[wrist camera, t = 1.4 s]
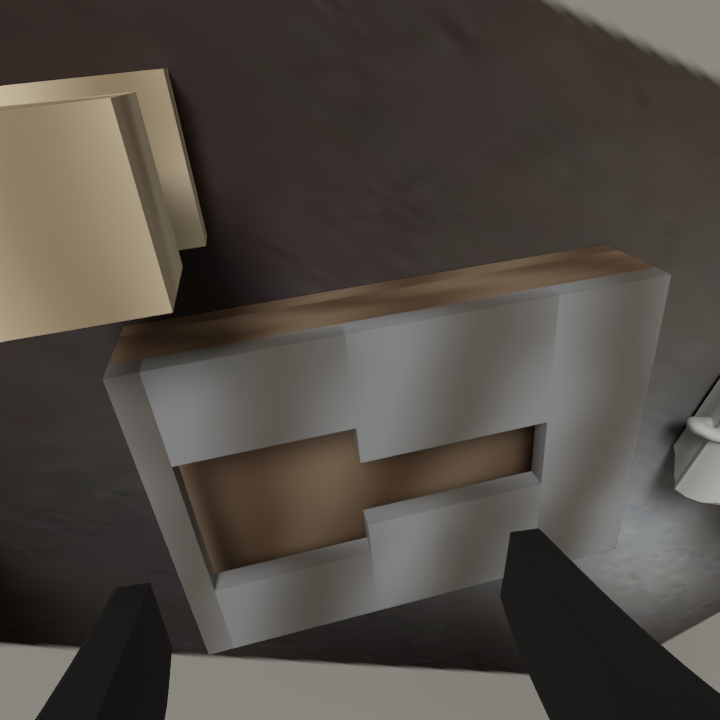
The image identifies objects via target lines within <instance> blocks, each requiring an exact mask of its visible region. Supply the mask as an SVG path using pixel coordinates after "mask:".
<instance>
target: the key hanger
mask: <svg viewBox="0 0 720 720" xmlns="http://www.w3.org/2000/svg"><path fill="white" fill-rule="evenodd" d="M206 241H207V233H206V229H205V225H204V221H203V216H202V212H201V208H200V204H199V200H198V195H197V191H196V187H195V183H194V179H193V174H192V170H191V166H190V162H189V158H188V153H187V149H186V145H185V141H184V137H183V132H182V128H181V124H180V120H179V115H178V111H177V107H176V103H175V99H174V94H173V90H172V86H171V82H170V78H169V73H168V69H156V70H146V71H137V72H127V73H118V74H109V75H99V76H90V77H80V78H71V79H61V80H52V81H43V82H33V83H24V84H14V85H5V86H0V342H3V341H9V340H15V339H21V338H27V337H33V336H38V335H44V334H50V333H56V332H62V331H68V330H74V329H80V328H86V327H92V326H97V325H103V324H109V323H115V322H121V321H127V320H133V319H139V318H145V317H151V316H156V315H162V314H168V313H173V309H174V305H175V300H176V295H177V291H178V286H179V281H180V277H181V272H182V268H183V266H182V262H181V259H180V255H179V251H178V250H184V249H190V248H197V247H203V246H206Z"/></svg>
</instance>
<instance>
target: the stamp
mask: <svg viewBox="0 0 720 720" xmlns="http://www.w3.org/2000/svg"><path fill="white" fill-rule="evenodd" d="M686 426H687V427H686V429H685V430H684V432H683V433H682V435H681V436H680V437H679V439H678V440H677V442H676V443H675V445H674V446H673V447H674V451H675V466H674V479H675V490H677V491H678V492H680V493H681V494H683V495H684V496H685V497H688V498H690V499H693V500H696V501H698V502H702V503H709V504H715V505H720V379H719V380H718V382H717V383H716V385H715V386H714V388H713V389H712V391H711V392H710V394H709V395H708V396H707V398H706V399H705V401H704V402H703V404H702V405H701V407H700V408H699V410H698V411H697V413H696V414H695V415H694V416H693V417H688V418H687V420H686Z"/></svg>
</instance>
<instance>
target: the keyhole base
mask: <svg viewBox="0 0 720 720" xmlns="http://www.w3.org/2000/svg"><path fill="white" fill-rule="evenodd" d="M670 278H671V275H670V274H668V273H666V272H664V271H662V270H660V269H657V268H655V267H653V266H651V265H649V264H647V263H644V262H642V261H640V260H638V259H636V258H634V257H631V256H629V255H627V254H625V253H623V252H621V251H618V250H616V249H614V248H612V247H610V246H608V245H605V244H604V245H598V246H592V247H586V248H580V249H574V250H568V251H563V252H557V253H551V254H545V255H539V256H533V257H527V258H522V259H516V260H510V261H504V262H498V263H492V264H487V265H481V266H475V267H469V268H463V269H457V270H451V271H446V272H440V273H434V274H428V275H422V276H416V277H410V278H405V279H399V280H393V281H387V282H381V283H375V284H369V285H364V286H358V287H352V288H346V289H340V290H334V291H328V292H323V293H317V294H311V295H305V296H299V297H293V298H287V299H282V300H276V301H270V302H264V303H258V304H252V305H246V306H241V307H235V308H229V309H223V310H217V311H211V312H205V313H200V314H194V315H188V316H182V317H176V318H170V319H164V320H159V321H153V322H147V323H141V324H135V325H129V326H123V329H122V331H121V334H120V336H119V339H118V341H117V344H116V346H115V349H114V351H113V354H112V356H111V359H110V362H109V364H108V367H107V369H106V372H105V374H104V377H103V382H104V384H105V387H106V389H107V392H108V394H109V397H110V400H111V402H112V405H113V407H114V410H115V413H116V415H117V418H118V420H119V423H120V425H121V428H122V431H123V433H124V436H125V438H126V441H127V444H128V446H129V449H130V451H131V454H132V456H133V459H134V462H135V464H136V467H137V469H138V472H139V475H140V477H141V480H142V482H143V485H144V488H145V490H146V493H147V495H148V498H149V500H150V503H151V506H152V508H153V511H154V513H155V516H156V519H157V521H158V524H159V526H160V529H161V531H162V534H163V537H164V539H165V542H166V544H167V547H168V550H169V552H170V555H171V557H172V560H173V563H174V565H175V568H176V570H177V573H178V575H179V578H180V581H181V583H182V586H183V588H184V591H185V594H186V596H187V599H188V601H189V604H190V606H191V609H192V612H193V614H194V617H195V619H196V622H197V625H198V627H199V630H200V632H201V635H202V638H203V640H204V643H205V645H206V648H207V650H208V653H209V655H210V654H213V653H217V652H221V651H225V650H229V649H233V648H236V647H240V646H244V645H248V644H252V643H256V642H259V641H263V640H267V639H271V638H275V637H279V636H283V635H286V634H290V633H294V632H298V631H302V630H306V629H309V628H313V627H317V626H321V625H325V624H329V623H332V622H336V621H340V620H344V619H348V618H352V617H355V616H359V615H363V614H367V613H371V612H375V611H379V610H382V609H386V608H390V607H394V606H398V605H402V604H405V603H409V602H413V601H417V600H421V599H425V598H428V597H432V596H436V595H440V594H444V593H448V592H451V591H455V590H459V589H463V588H467V587H471V586H475V585H478V584H482V583H486V582H490V581H494V580H498V579H501V578H503V576H504V570H505V564H506V557H507V551H508V544H509V538H510V532H515V531H522V530H529V529H536V528H539V529H540V530H541V531H543V532H544V533H545V534H546V535H547V536H548V537H549V538H550V540H551V541H552V542H553V543H554V544H555V545H556V546H557V547H558V548H559V549H560V550H561V551H562V552H563V553H564V554H565V555H566V556H567V557H568V558H569V559H570V560H574V559H578V558H582V557H586V556H590V555H594V554H597V553H601V552H605V551H609V550H613V549H616V545H617V540H618V535H619V531H620V526H621V521H622V516H623V511H624V506H625V501H626V496H627V491H628V486H629V481H630V476H631V471H632V466H633V461H634V456H635V451H636V446H637V441H638V436H639V432H640V427H641V422H642V417H643V412H644V407H645V402H646V397H647V392H648V387H649V382H650V377H651V372H652V367H653V362H654V357H655V352H656V347H657V342H658V337H659V333H660V328H661V323H662V318H663V313H664V308H665V303H666V298H667V293H668V288H669V283H670Z"/></svg>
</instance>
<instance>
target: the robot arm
mask: <svg viewBox="0 0 720 720" xmlns="http://www.w3.org/2000/svg"><path fill="white" fill-rule="evenodd" d="M500 597H501V600H502V603H503V607H504V610H505V613H506V616H507V619H508V622H509V625H510V628H511V631H512V634H513V637H514V640H515V643H516V646H517V648H518V651H519V653H520V655H521V657H522V660H523V662H524V664H525V666H526V669H527V671H528V673H529V675H530V677H531V680H532V682H533V684H534V686H535V689H536V691H537V693H538V695H539V697H540V699H541V702H542V703H543V706H544V708H545V710H546V713H547V714H548V717H549V719H550V720H720V693H718V692H717V691H716V690H714V689H713V688H712V687H711V686H709V685H708V684H707V683H706V682H704V681H703V680H702V679H700V678H699V677H698V676H697V675H696V674H695V673H693V672H692V671H691V670H690V669H688V668H687V667H686V666H685V665H684V664H682V663H681V662H680V661H679V660H678V659H677V658H675V657H674V656H673V655H672V654H671V653H670V652H668V651H667V650H666V649H665V648H664V647H663V646H662V645H660V644H659V643H658V642H657V641H656V640H655V639H653V638H652V637H651V636H650V635H649V634H648V633H647V632H646V631H645V630H643V629H642V628H641V627H640V626H639V625H638V624H637V623H636V622H635V621H634V620H632V619H631V618H630V617H629V616H628V615H627V614H626V613H625V612H624V611H623V610H622V609H621V608H620V607H618V606H617V605H616V604H615V603H614V602H613V601H612V600H611V599H610V598H609V597H608V596H607V595H606V594H605V593H604V592H603V591H602V590H601V589H599V588H598V587H597V586H596V585H595V584H594V583H593V582H592V581H591V580H590V579H589V578H588V577H587V576H586V575H585V574H584V573H583V572H582V571H581V570H580V569H579V568H578V567H577V566H576V565H575V564H574V563H573V562H572V561H571V560H570V559H569V558H568V557H567V556H566V555H565V554H564V553H563V552H562V551H561V550H560V549H559V548H558V547H557V546H556V545H555V544H554V543H553V542H552V541H551V540H550V538H549V537H548V536H547V535H546V534H545V533H544V532H543V531H541V530H540V529H539V528H536V529H529V530H522V531H515V532H510V538H509V544H508V551H507V557H506V564H505V570H504V576H503V583H502V589H501V596H500ZM171 653H172V646H171V643H170V640H169V637H168V634H167V631H166V628H165V626H164V623H163V620H162V617H161V614H160V611H159V608H158V605H157V602H156V599H155V596H154V593H153V590H152V587H151V584H150V583H146V584H139V585H132V586H125V587H118V588H116V589H115V590H114V591H113V592H112V594H111V596H110V598H109V600H108V601H107V603H106V605H105V607H104V608H103V610H102V612H101V614H100V615H99V617H98V619H97V621H96V622H95V624H94V626H93V627H92V629H91V631H90V633H89V634H88V636H87V638H86V639H85V641H84V643H83V644H82V646H81V648H80V649H79V651H78V653H77V654H76V656H75V658H74V659H73V661H72V663H71V664H70V666H69V668H68V669H67V671H66V672H65V674H64V675H63V677H62V679H61V680H60V682H59V683H58V685H57V687H56V688H55V690H54V691H53V693H52V694H51V696H50V698H49V699H48V701H47V702H46V704H45V706H44V707H43V708H42V710H41V712H40V713H39V715H38V716H37V718H36V719H35V720H164V719H165V713H166V707H167V699H168V689H169V678H170V666H171Z"/></svg>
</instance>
